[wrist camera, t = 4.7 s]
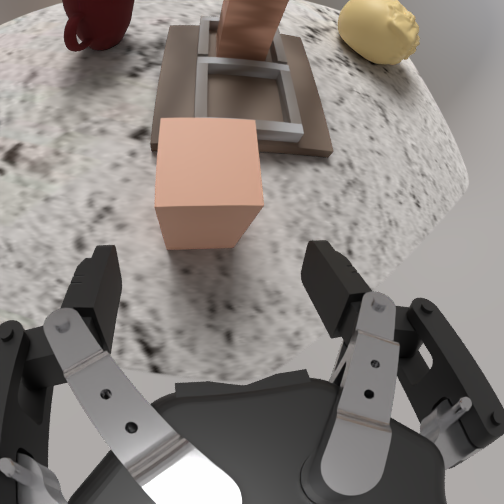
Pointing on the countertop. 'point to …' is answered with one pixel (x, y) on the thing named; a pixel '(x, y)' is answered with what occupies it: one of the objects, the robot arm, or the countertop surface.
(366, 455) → the robot arm
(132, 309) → the countertop surface
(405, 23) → the sculpture
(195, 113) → the wooden block stand
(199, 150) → the pillar
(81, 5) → the mug
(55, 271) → the countertop surface
